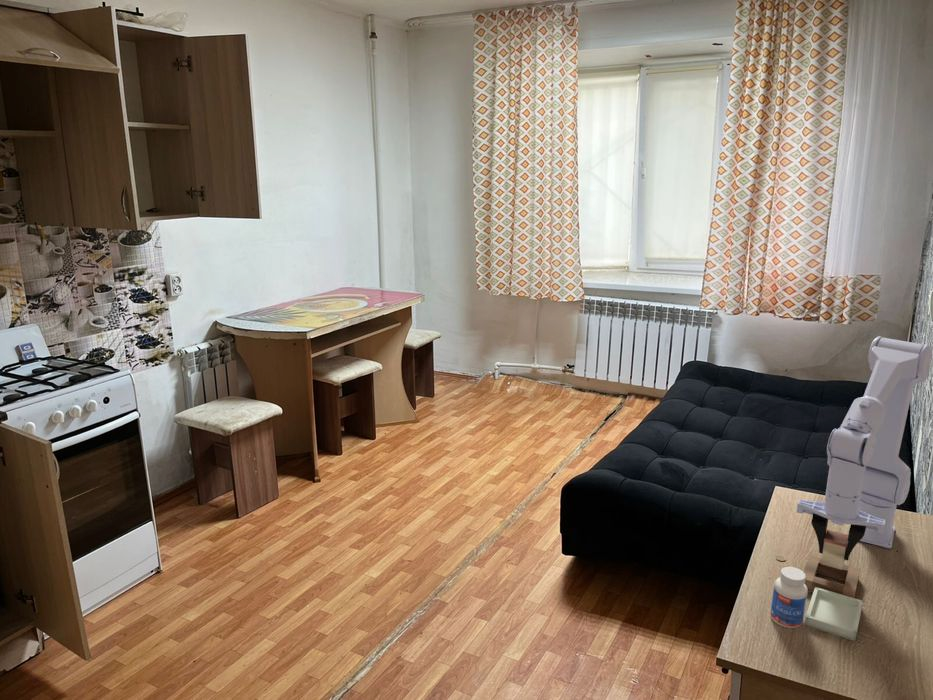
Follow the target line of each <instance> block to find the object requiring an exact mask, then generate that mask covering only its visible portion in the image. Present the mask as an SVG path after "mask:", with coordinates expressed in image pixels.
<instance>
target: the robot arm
mask: <svg viewBox="0 0 933 700" xmlns="http://www.w3.org/2000/svg"><path fill="white" fill-rule="evenodd" d="M932 361H933V347H931V345H930V344H928V343H925V344H922V343H916V342H911V341H904V340H901V339H900V340H899V339H893V338H888V337H883V336H881V335H879V336H877V337H875V338H874V339H873V340H872V342H871V344H870V346H869V350H868V356H867V362H868V365H869V370H870V371H872V372H871V375H870V378H869V380H868V382H867V385H866V388H865V391H864V394H863V396H861V397H857V398H855V399H854V400H853V402H852V403H851V405H850V407H849V409H848V411H847V413H846V415H845V417H844V419H843V420H842V423H841V424H840V426H839V427H838V428H834V429H833V430H832V431H831V433H830V435H829V437H828V441H827V445H826V454H827V461H826V462H827V466H829V467H828V468H829V469H828V474H827V475H828V476H827V483H826V489H825V497H824V501H813V500H804V499H800V498H799V500H798V501H797V505H796V513H798V514H804V513H805V514H808V515H812V518H811V522H810V523H811V527H812V528H813V531H814V532H815V535H816V538H817V543H818V553H819V554H823V547H824V538H825V535H826V532H827V530H828V529H827V528H828V525H829V520H830V522H831V523H832V524H834V525H839V526H845V525H850V526H849V530H848V534H847V535H848V542H847V548H846V552H845V556H844V560H845V561H847V562H848V561H849V559H850V557H851V553H852V551H853V549H854V548H855V547H856V546H857V544H858V543H859V542H864V543H867V544H870V545H871V544H872V545H874V546H877V547H883V548H886V549H892V547H893V541H894V534H895V529H896V527H895V526H894V523H895V518H896V511H897V507H898V506H900V505H902V504H904V503H905V501H906V499H907V498H908V495H909V492H910V486H911V476H912V474H911V473H912V472H911V468H910V467H909V466H908V465H907V464H906V463H905V462H904V461H903V460H902V459H901V458H900V457H899V454H900V449H901V445H902V440H903V435H904V432H905V426H906V421H907V417H908V414H909V413H908V411H909V409H910V408H909V407H910V403H911V399H912V395H913V390H914V388H915V386H916V384H917V383H926V381H927V379H928V376H929V373H930V367H931V364H932ZM844 524H845V525H844Z"/></svg>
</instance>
